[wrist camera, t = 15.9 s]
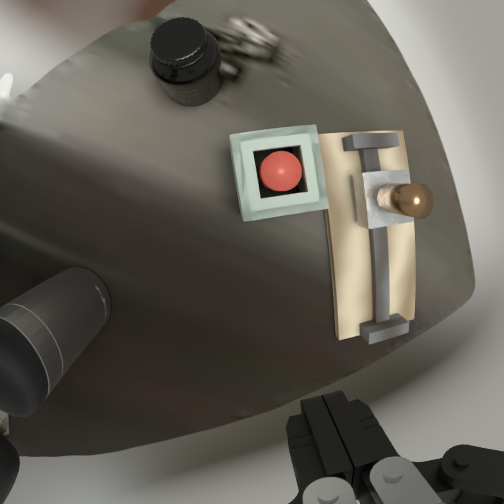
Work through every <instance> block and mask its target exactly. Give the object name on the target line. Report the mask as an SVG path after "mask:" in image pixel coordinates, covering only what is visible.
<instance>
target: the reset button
mask: <svg viewBox="0 0 504 504" xmlns="http://www.w3.org/2000/svg"><path fill="white" fill-rule="evenodd" d="M257 174H258V179H259V181H260V183H261V184H262V185H263V186H264V187H265V188H266V189H269V190H272V191H287V190H290V189H292V188H294V187H295V186H296V185H297V184H298V183H299V181H300V179H301V175H302V168H301V164H300V162H299V160H298V159H297V158H296V157H295V156H294V155H293V154H291V153H289V152H286V151H277V152H274V153H271V154H270V155H269V156H267V157H266V158H265V159H264V160H263V161H262V162H261V163H260V165H259V167H258V171H257Z"/></svg>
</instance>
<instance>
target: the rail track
mask: <svg viewBox="0 0 504 504" xmlns="http://www.w3.org/2000/svg"><path fill="white" fill-rule="evenodd" d="M318 139H319V145H320V151H321V157H322V163H323V169H324V176H325V183H326V190H327V197H328V205H329V209H324V211H325V219H326V227H327V236H328V245H329V255H330V265H331V276H332V288H333V301H334V316H335V334H336V337H337V338H338V339H339V340H342V339H346V338H350V337H354V336H357V335H361V336H362V337H363V338H364V339H365V340H366V342H367V343H368V344H373V343H376V342H379V341H383V340H386V339H389V338H392V337H396V336H399V335H402V334H405V333H408V330H409V320H412V319H414V311H415V233H414V217H413V222H408V223H402V224H396V225H390V226H384V227H378V228H373V229H367V228H364V227H361V226H358V216H357V207H356V199H355V191H354V183H353V176H352V174H355V173H365V172H375V171H387V170H399V169H408V171H409V167H408V160H407V153H406V147H405V141H404V135H403V131H363V132H343V133H328V134H318ZM409 179H410V175H409ZM410 184H411V183H410Z"/></svg>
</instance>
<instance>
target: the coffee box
mask: <svg viewBox="0 0 504 504" xmlns="http://www.w3.org/2000/svg"><path fill="white" fill-rule="evenodd" d="M0 432H1V433H2V434H3V435H4V436H5V437H7V435H8V434H9V417H8V414H7V413H5V412H3V411H1V410H0Z"/></svg>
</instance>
